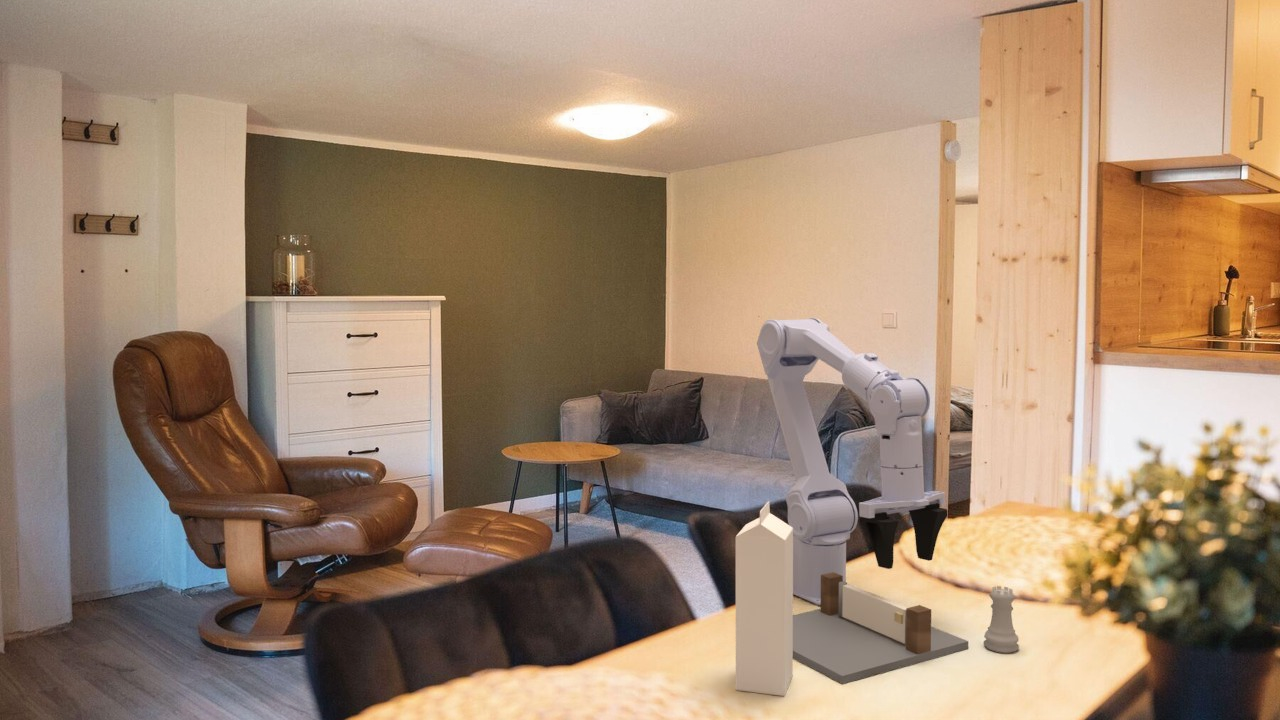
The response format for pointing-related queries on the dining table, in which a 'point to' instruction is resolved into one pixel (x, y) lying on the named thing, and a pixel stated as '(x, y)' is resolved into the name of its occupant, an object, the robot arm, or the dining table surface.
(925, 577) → the dining table surface
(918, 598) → the dining table surface
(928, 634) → the gate posts
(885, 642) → the base
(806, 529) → the robot arm
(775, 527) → the milk
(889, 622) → the gate leaf
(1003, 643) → the rook chess piece
